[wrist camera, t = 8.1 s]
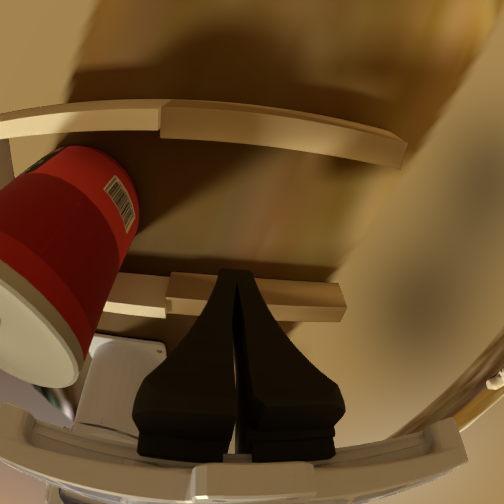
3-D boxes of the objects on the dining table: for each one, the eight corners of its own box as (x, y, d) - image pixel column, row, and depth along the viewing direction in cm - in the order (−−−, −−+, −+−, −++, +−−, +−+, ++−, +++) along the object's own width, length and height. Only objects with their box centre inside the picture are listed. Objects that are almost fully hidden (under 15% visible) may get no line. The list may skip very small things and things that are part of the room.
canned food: (55, 120, 14) (-82, 216, 5) (165, 180, 17) (98, 333, 8) (29, 216, 18) (-56, 331, 9) (119, 266, 20) (69, 406, 12)
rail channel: (332, 297, 23) (340, 322, 21) (172, 287, 22) (166, 312, 20) (388, 130, 15) (408, 143, 13) (172, 99, 14) (161, 106, 12)
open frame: (172, 287, 22) (165, 318, 19) (31, 271, 20) (15, 296, 18) (172, 99, 14) (158, 108, 12) (-4, 114, 13) (-33, 128, 10)
